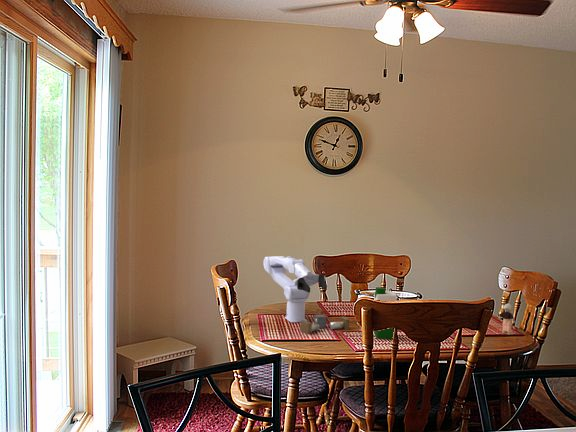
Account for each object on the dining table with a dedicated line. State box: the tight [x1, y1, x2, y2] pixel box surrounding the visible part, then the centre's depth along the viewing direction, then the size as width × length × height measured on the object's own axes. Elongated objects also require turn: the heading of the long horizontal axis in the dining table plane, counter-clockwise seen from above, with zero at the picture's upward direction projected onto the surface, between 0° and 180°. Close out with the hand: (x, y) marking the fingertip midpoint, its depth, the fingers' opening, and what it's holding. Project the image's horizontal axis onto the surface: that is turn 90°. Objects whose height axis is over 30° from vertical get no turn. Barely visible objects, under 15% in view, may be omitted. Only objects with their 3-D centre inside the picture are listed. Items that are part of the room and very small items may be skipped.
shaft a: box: [328, 316, 350, 331], centre depth 248 cm, size 8×5×4 cm, turn 109°
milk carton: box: [373, 286, 398, 340], centre depth 237 cm, size 9×9×20 cm
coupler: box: [313, 313, 327, 329], centre depth 250 cm, size 4×4×5 cm
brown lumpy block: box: [299, 321, 321, 335], centre depth 243 cm, size 8×5×4 cm, turn 129°
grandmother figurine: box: [498, 303, 516, 335], centre depth 247 cm, size 8×4×13 cm, turn 46°
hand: (317, 289), depth 242 cm, fingers open, 7 cm apart
